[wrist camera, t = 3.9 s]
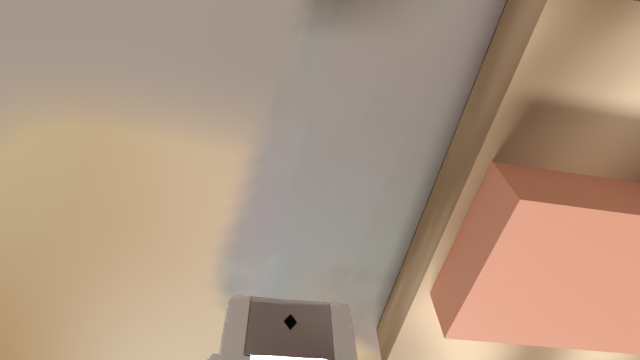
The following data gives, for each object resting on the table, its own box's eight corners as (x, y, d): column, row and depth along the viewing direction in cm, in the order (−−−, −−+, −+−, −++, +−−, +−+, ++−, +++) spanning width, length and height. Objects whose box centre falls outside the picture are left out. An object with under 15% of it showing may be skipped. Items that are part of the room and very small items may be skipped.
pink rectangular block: (739, 196, 14) (798, 236, 12) (635, 313, 17) (671, 357, 16) (491, 161, 13) (520, 199, 11) (429, 293, 16) (444, 338, 14)
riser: (913, 55, 14) (998, 76, 12) (630, 351, 22) (657, 388, 21) (518, -28, 12) (554, -16, 10) (376, 330, 20) (383, 368, 19)
